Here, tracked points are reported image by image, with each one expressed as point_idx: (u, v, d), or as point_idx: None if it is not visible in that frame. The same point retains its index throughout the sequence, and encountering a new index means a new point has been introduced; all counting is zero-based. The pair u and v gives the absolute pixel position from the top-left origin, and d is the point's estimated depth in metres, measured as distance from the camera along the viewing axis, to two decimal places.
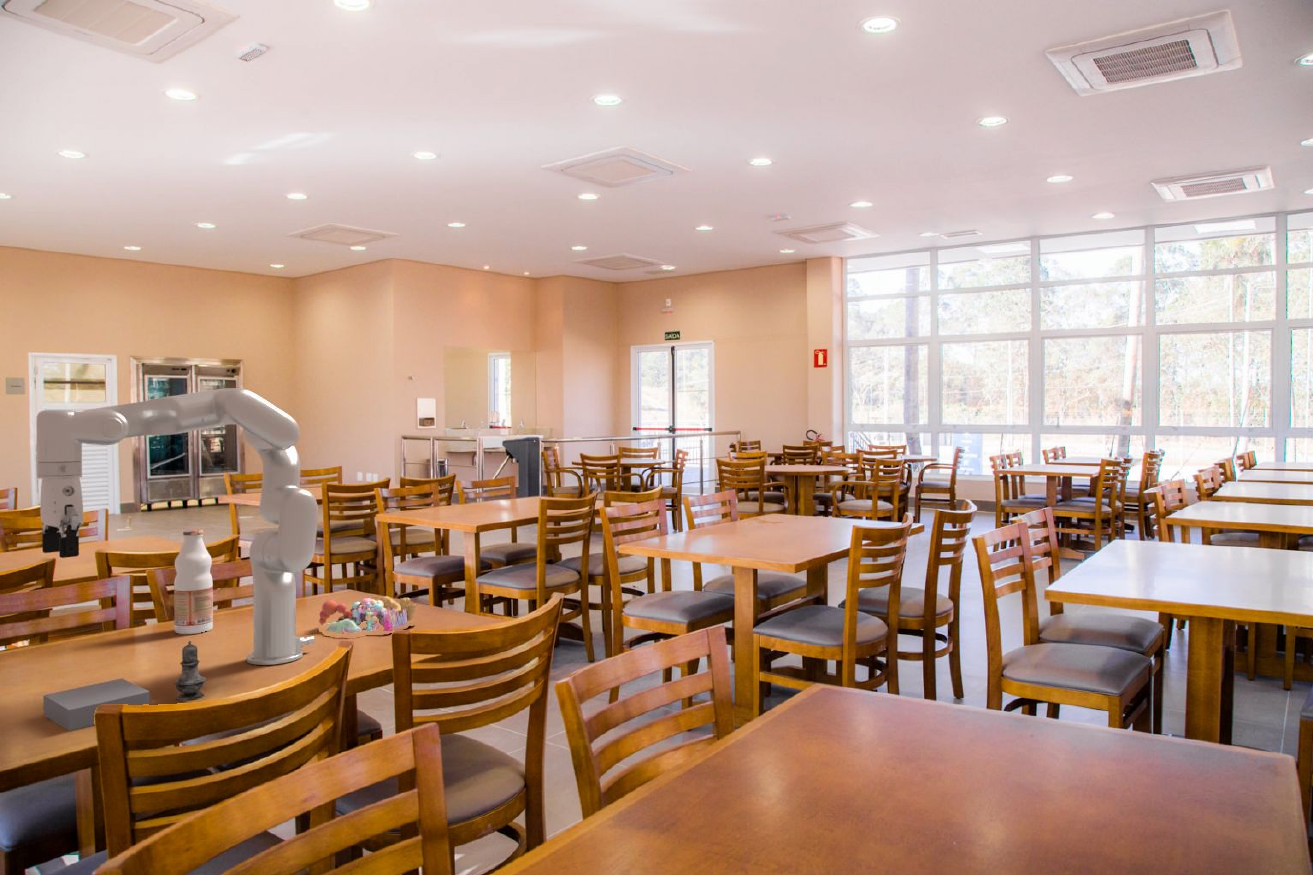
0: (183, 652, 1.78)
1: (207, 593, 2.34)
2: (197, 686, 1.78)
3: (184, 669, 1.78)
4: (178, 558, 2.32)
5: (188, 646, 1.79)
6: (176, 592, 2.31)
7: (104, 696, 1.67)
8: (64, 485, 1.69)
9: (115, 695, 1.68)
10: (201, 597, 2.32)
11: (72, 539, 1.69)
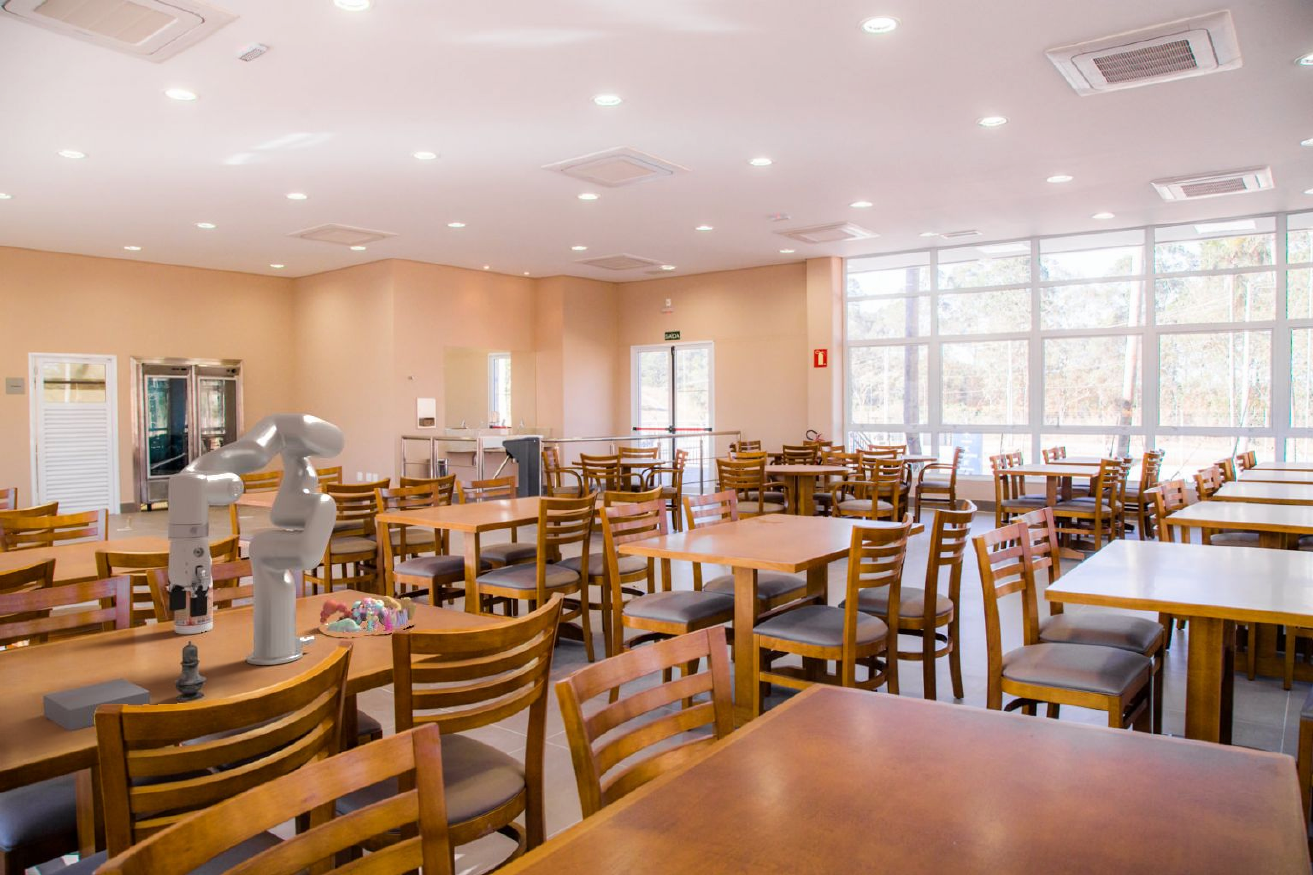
0: (183, 652, 1.78)
1: None
2: (197, 686, 1.78)
3: (184, 669, 1.78)
4: None
5: (188, 646, 1.79)
6: None
7: (104, 696, 1.67)
8: (195, 547, 1.75)
9: (115, 695, 1.68)
10: None
11: (202, 598, 1.75)
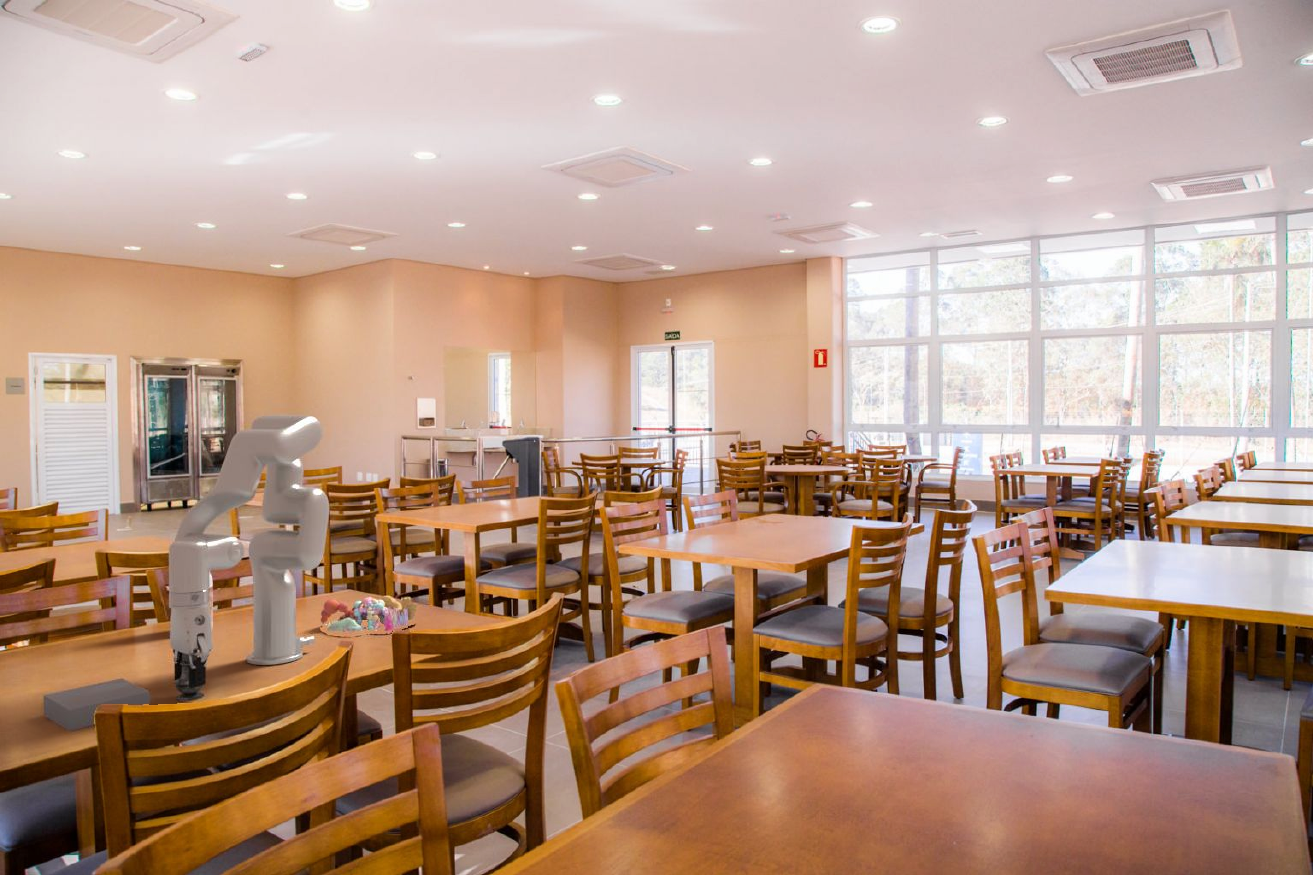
0: None
1: None
2: None
3: (184, 669, 1.78)
4: None
5: None
6: None
7: (104, 696, 1.67)
8: (196, 615, 1.76)
9: (115, 695, 1.68)
10: None
11: (200, 669, 1.77)
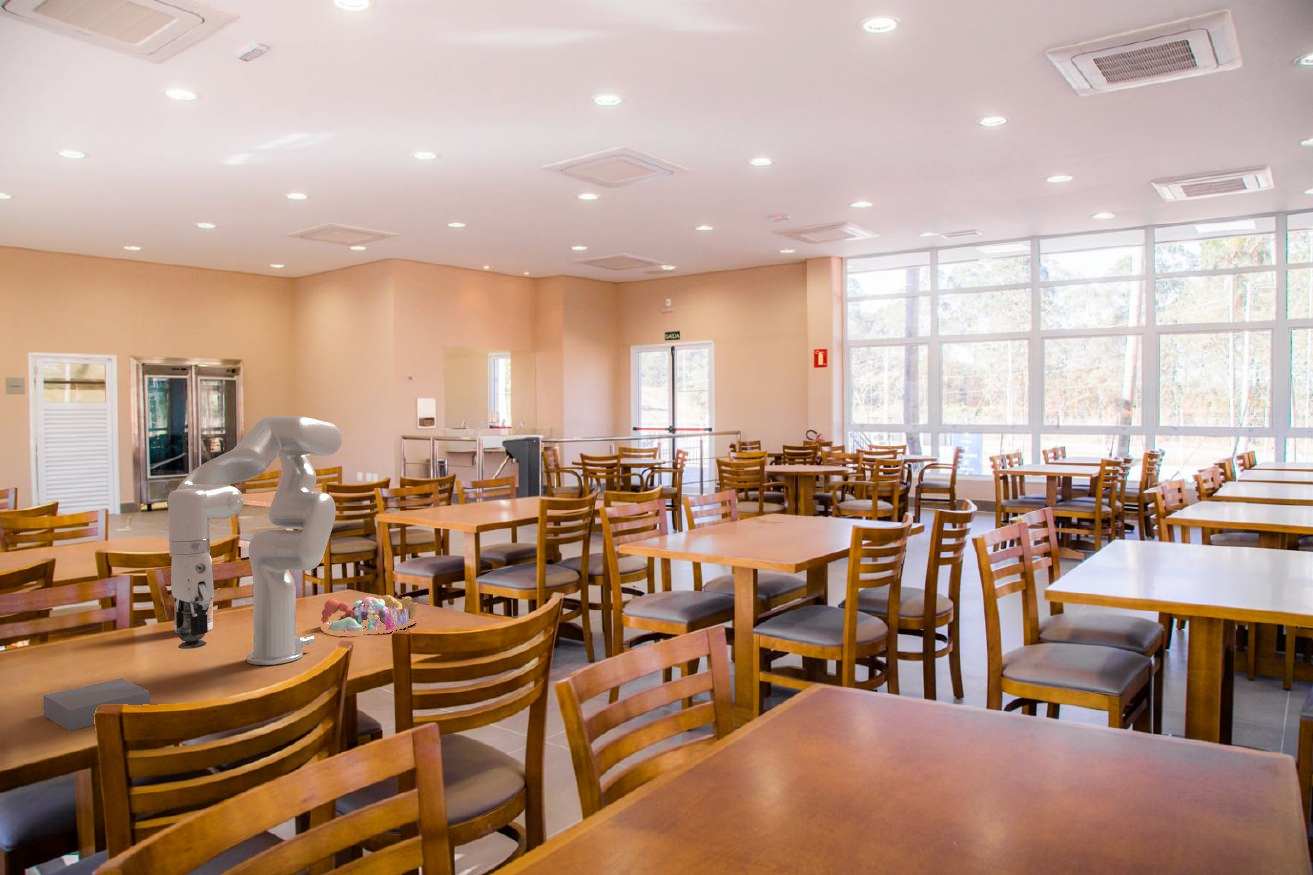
0: (184, 601, 1.78)
1: None
2: None
3: (186, 617, 1.78)
4: None
5: None
6: None
7: (104, 696, 1.67)
8: (197, 563, 1.76)
9: (115, 695, 1.68)
10: None
11: (202, 617, 1.77)
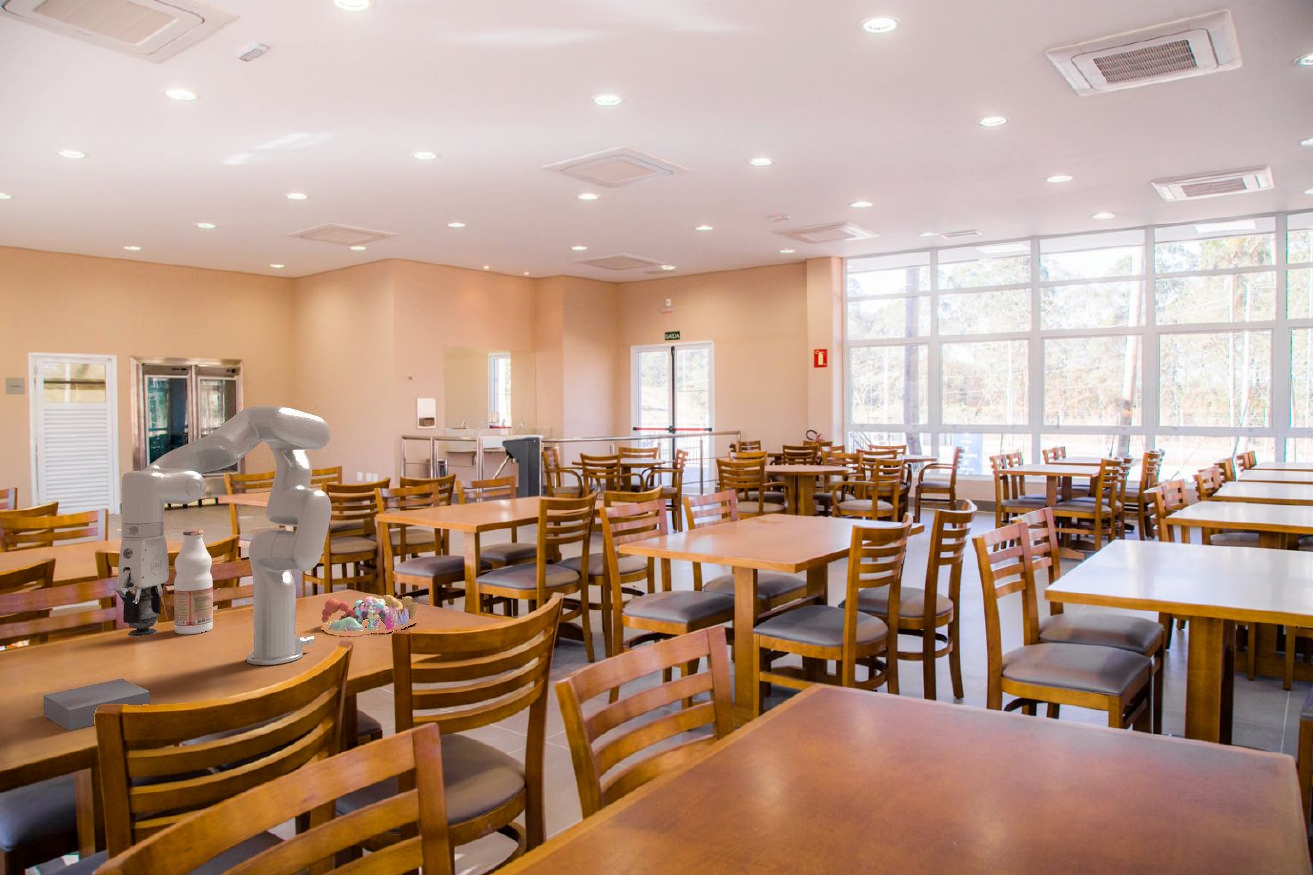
0: None
1: (207, 593, 2.34)
2: (136, 623, 1.71)
3: None
4: (178, 558, 2.32)
5: None
6: (176, 592, 2.31)
7: (104, 696, 1.67)
8: (125, 547, 1.69)
9: (115, 695, 1.68)
10: (201, 597, 2.32)
11: (130, 605, 1.69)
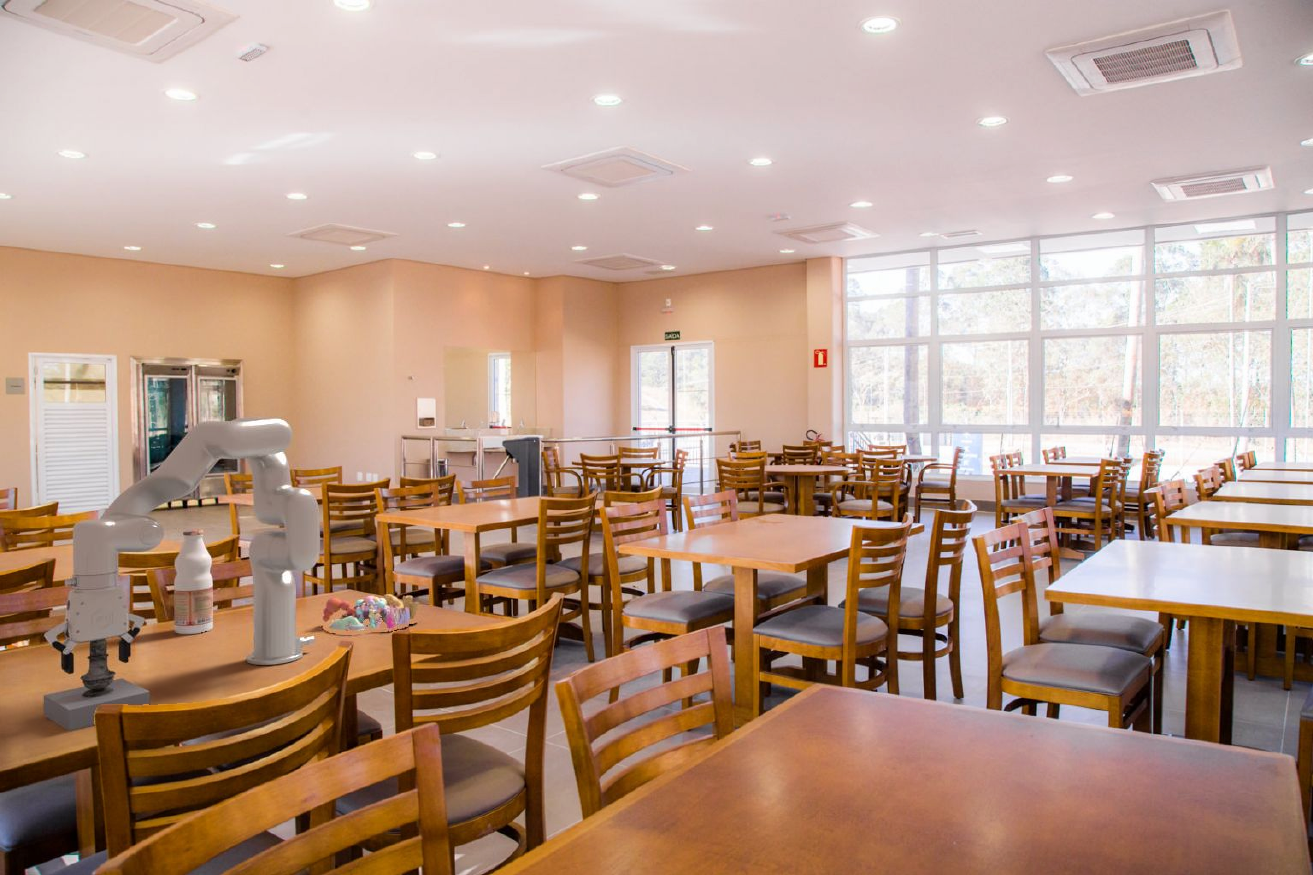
0: None
1: (207, 593, 2.34)
2: (84, 683, 1.67)
3: None
4: (178, 558, 2.32)
5: None
6: (176, 592, 2.31)
7: (104, 696, 1.67)
8: (68, 598, 1.66)
9: (115, 695, 1.68)
10: (201, 597, 2.32)
11: (63, 655, 1.64)
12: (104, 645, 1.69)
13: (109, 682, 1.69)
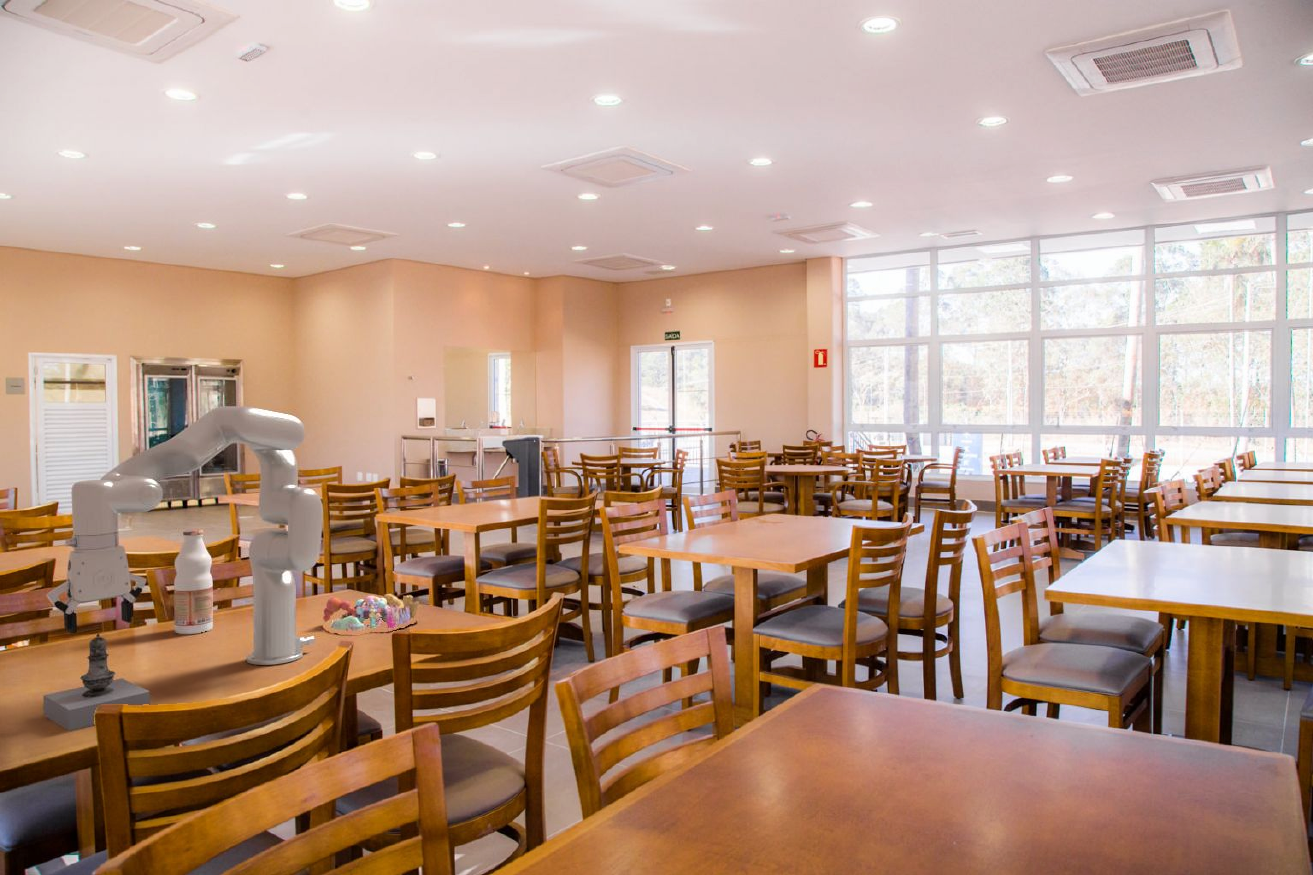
0: None
1: (207, 593, 2.34)
2: (84, 683, 1.67)
3: None
4: (178, 558, 2.32)
5: None
6: (176, 592, 2.31)
7: (104, 696, 1.67)
8: (69, 559, 1.66)
9: (115, 695, 1.68)
10: (201, 597, 2.32)
11: (65, 615, 1.65)
12: (104, 645, 1.69)
13: (109, 682, 1.69)
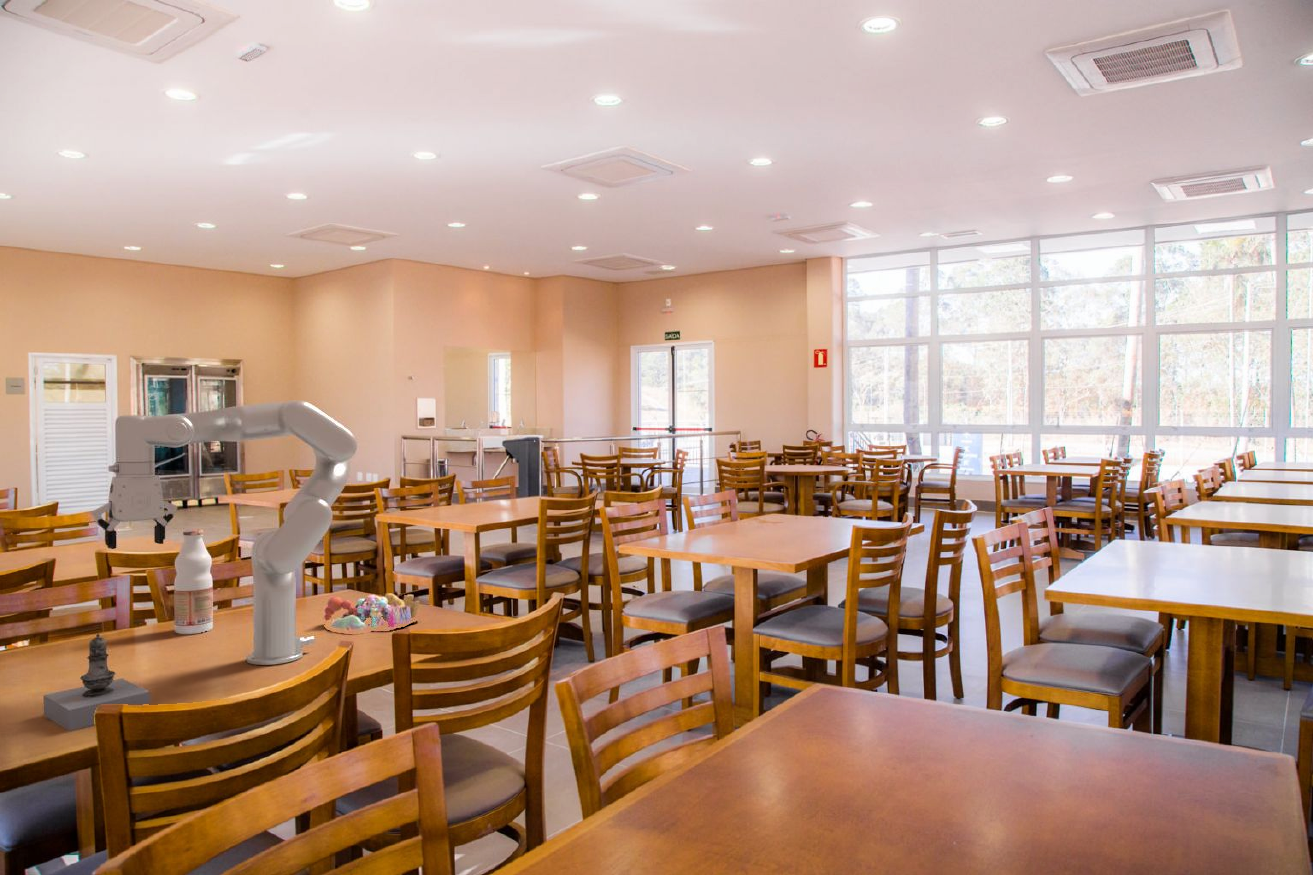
0: None
1: (207, 593, 2.34)
2: (84, 683, 1.67)
3: None
4: (178, 558, 2.32)
5: None
6: (176, 592, 2.31)
7: (104, 696, 1.67)
8: (111, 483, 1.87)
9: (115, 695, 1.68)
10: (201, 597, 2.32)
11: (107, 532, 1.86)
12: (104, 645, 1.69)
13: (109, 682, 1.69)
